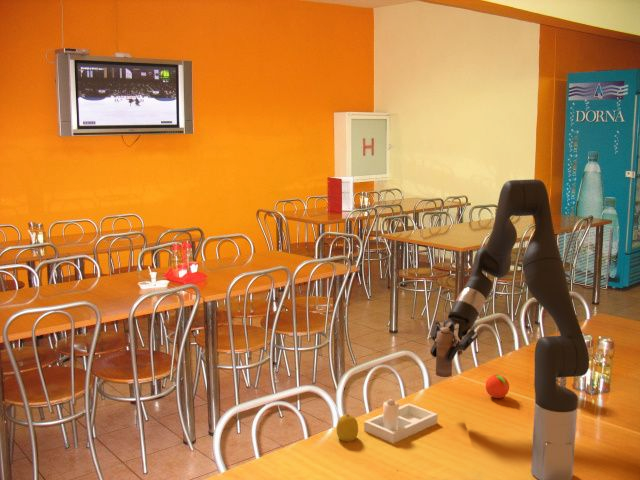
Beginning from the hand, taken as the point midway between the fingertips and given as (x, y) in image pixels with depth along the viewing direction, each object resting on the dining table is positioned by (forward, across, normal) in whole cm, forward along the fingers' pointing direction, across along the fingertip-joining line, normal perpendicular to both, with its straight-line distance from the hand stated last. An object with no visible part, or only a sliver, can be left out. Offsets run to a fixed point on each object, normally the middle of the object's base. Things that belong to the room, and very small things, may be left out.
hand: (440, 357), depth 189 cm
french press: (-17, +12, +42) cm, 46 cm away
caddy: (+23, -1, +2) cm, 23 cm away
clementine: (-5, +3, +30) cm, 30 cm away
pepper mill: (+2, 0, +5) cm, 6 cm away
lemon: (+34, -6, -9) cm, 36 cm away
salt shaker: (+25, -1, -2) cm, 25 cm away
